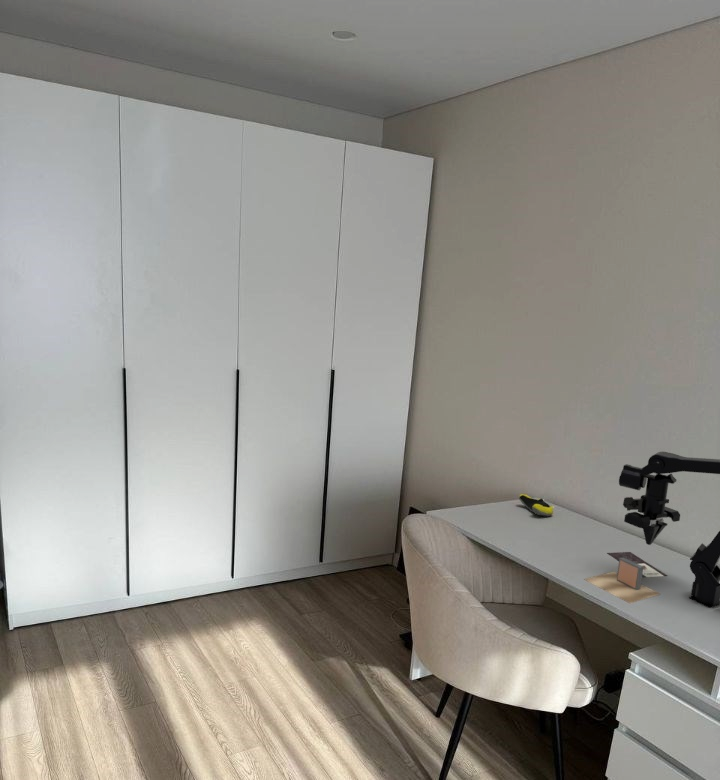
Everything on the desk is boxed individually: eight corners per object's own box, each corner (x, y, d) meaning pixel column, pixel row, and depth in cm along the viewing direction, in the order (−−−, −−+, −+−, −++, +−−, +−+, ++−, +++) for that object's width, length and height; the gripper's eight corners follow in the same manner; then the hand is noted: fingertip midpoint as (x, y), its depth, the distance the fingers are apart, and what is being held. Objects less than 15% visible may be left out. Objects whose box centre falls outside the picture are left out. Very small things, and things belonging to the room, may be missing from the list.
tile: (640, 589, 190) (643, 566, 189) (636, 590, 189) (639, 567, 188) (619, 579, 196) (623, 557, 195) (616, 580, 195) (619, 558, 194)
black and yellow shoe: (533, 519, 246) (557, 519, 248) (535, 505, 245) (559, 505, 247) (516, 506, 260) (538, 505, 262) (517, 492, 259) (540, 492, 261)
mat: (660, 595, 188) (660, 594, 188) (629, 604, 181) (629, 603, 181) (614, 572, 202) (614, 571, 201) (583, 580, 194) (583, 579, 194)
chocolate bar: (630, 551, 218) (667, 575, 201) (629, 554, 218) (667, 578, 201) (607, 552, 216) (642, 577, 199) (606, 555, 216) (642, 580, 199)
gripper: (651, 483, 204) (644, 530, 206) (612, 489, 194) (605, 538, 196) (684, 494, 194) (676, 543, 197) (645, 500, 185) (637, 552, 187)
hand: (648, 544), depth 194 cm, fingers closed
